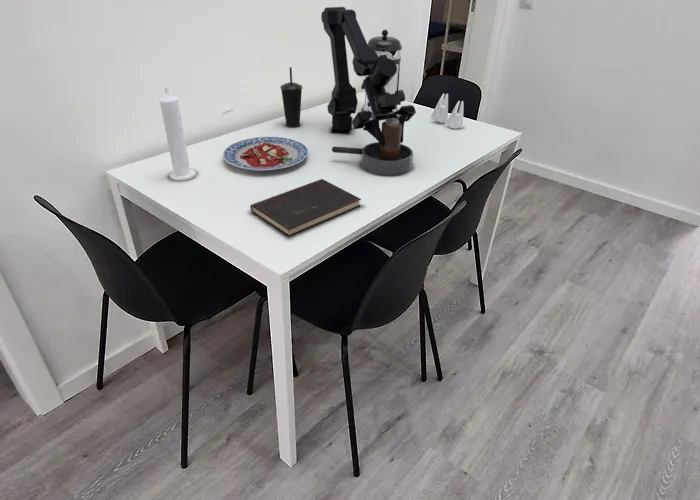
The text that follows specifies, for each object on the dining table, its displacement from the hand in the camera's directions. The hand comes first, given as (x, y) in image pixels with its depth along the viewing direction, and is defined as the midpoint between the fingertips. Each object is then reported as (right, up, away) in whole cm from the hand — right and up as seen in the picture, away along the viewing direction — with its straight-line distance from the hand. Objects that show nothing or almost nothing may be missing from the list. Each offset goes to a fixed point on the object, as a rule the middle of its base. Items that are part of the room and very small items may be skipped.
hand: (392, 143), depth 141 cm
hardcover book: (-24, -21, -17) cm, 36 cm away
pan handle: (-13, -2, +6) cm, 14 cm away
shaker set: (+23, +15, +38) cm, 46 cm away
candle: (-60, -10, -3) cm, 61 cm away
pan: (-1, -5, +6) cm, 8 cm away
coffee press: (-2, +22, +48) cm, 53 cm away
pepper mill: (-1, -5, +5) cm, 7 cm away
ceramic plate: (-38, -3, +9) cm, 39 cm away
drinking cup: (-33, +14, +34) cm, 49 cm away
